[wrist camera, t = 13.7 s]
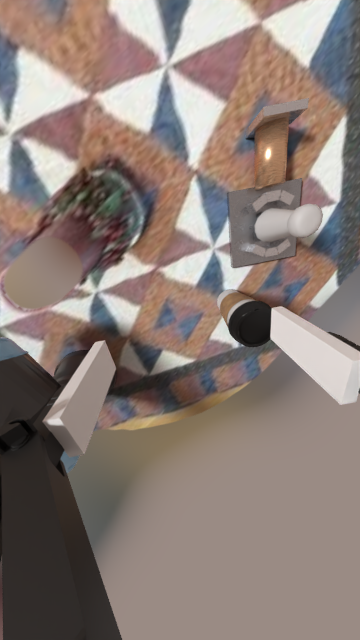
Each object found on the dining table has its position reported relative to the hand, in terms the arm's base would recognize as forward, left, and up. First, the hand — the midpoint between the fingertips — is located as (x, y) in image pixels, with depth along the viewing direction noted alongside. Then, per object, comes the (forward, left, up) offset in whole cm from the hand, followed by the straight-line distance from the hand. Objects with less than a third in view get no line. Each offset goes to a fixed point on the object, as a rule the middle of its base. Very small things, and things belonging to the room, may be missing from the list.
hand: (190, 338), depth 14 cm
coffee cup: (+12, -9, -29) cm, 33 cm away
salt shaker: (+20, +6, -28) cm, 35 cm away
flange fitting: (+20, +10, -29) cm, 36 cm away
